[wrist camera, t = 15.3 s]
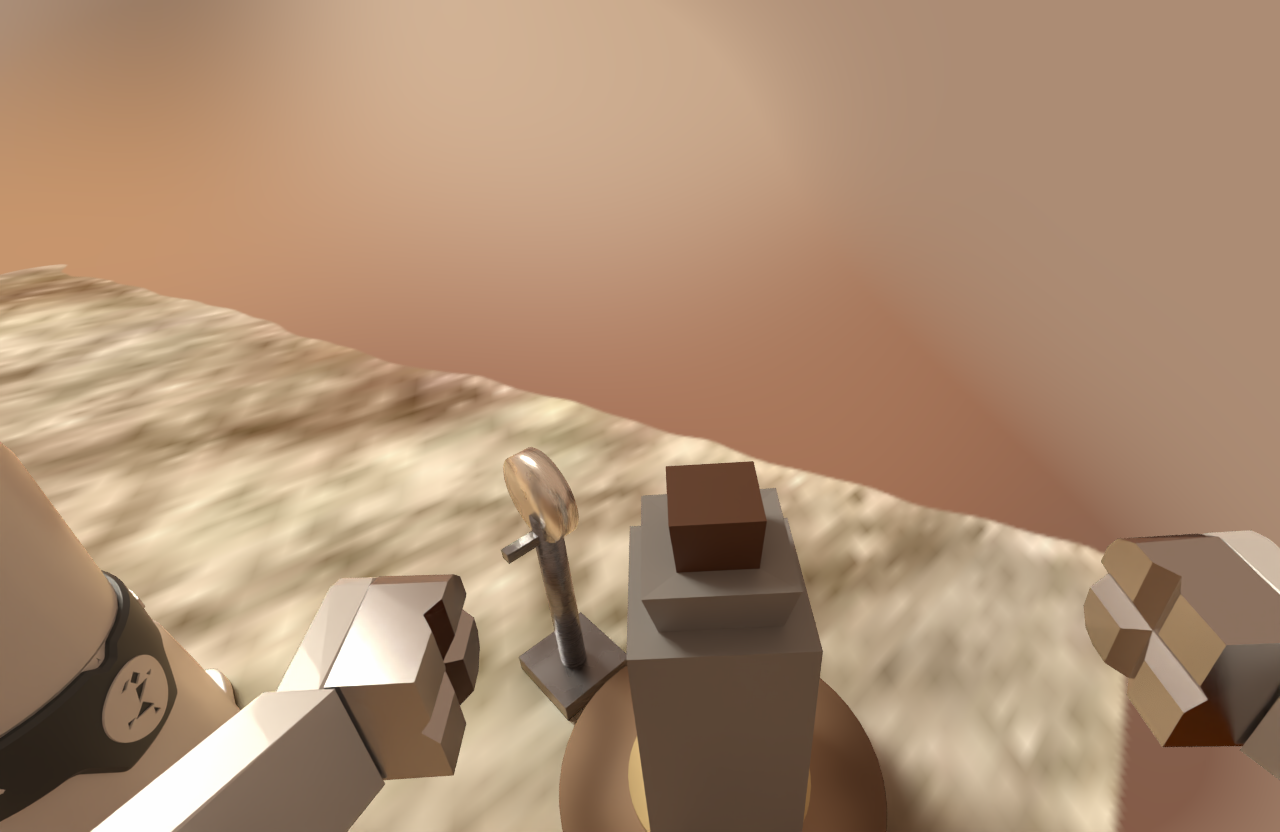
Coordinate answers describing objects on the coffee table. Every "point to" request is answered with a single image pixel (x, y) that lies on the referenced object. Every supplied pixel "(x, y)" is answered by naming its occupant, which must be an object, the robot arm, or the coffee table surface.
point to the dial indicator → (557, 587)
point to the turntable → (613, 781)
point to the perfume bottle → (720, 655)
